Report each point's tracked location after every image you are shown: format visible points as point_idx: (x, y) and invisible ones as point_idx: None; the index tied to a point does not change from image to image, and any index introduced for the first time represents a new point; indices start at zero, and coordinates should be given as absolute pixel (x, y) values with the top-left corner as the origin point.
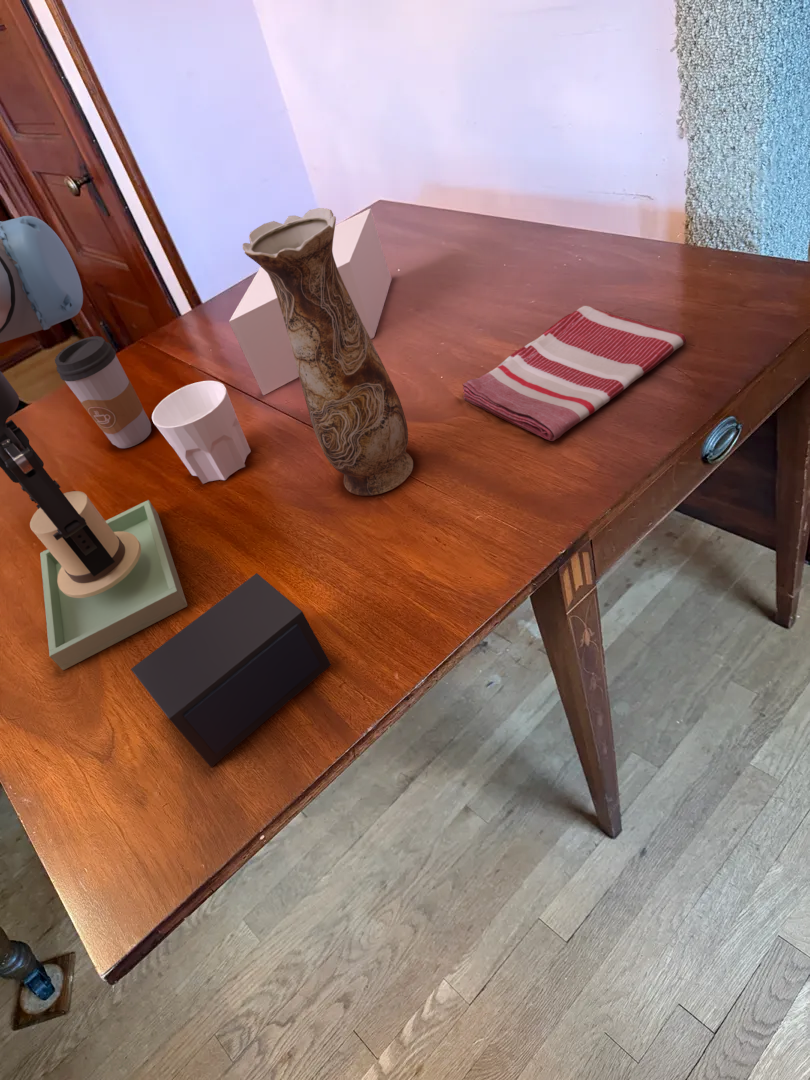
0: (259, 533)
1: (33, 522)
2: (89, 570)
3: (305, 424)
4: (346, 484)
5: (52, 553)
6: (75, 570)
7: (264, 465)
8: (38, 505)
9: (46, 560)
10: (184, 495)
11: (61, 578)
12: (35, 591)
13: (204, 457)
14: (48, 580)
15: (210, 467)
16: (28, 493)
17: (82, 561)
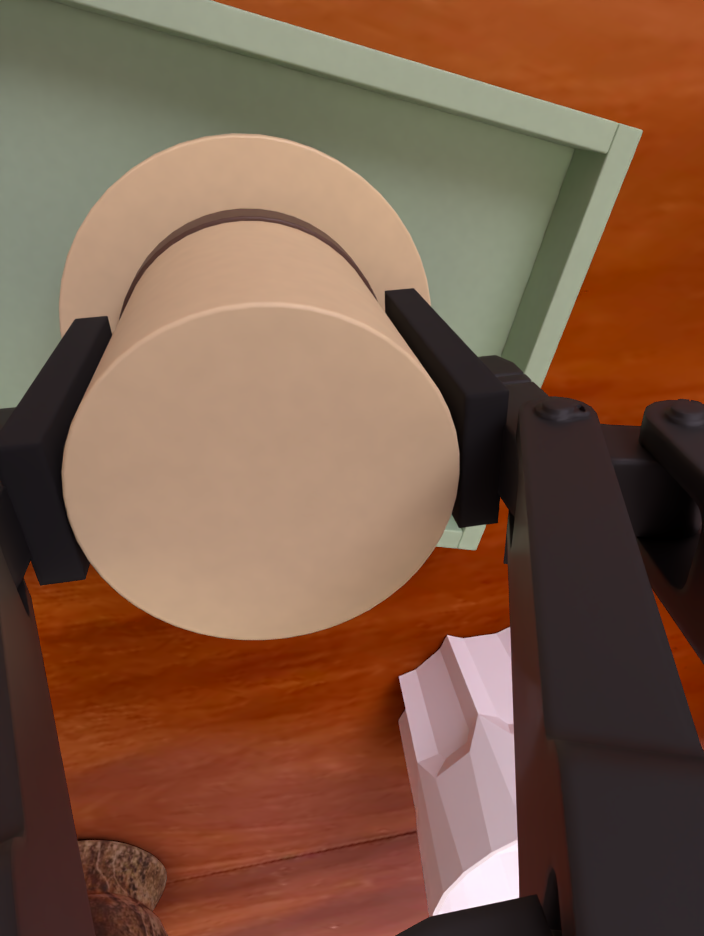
0: (97, 679)
1: (319, 337)
2: (65, 334)
3: (401, 833)
4: (81, 853)
5: (196, 262)
6: (147, 273)
7: (355, 748)
8: (494, 405)
9: (561, 138)
10: (456, 587)
11: (294, 168)
12: (530, 2)
13: (441, 734)
14: (417, 97)
15: (431, 701)
16: (524, 462)
17: (53, 356)
